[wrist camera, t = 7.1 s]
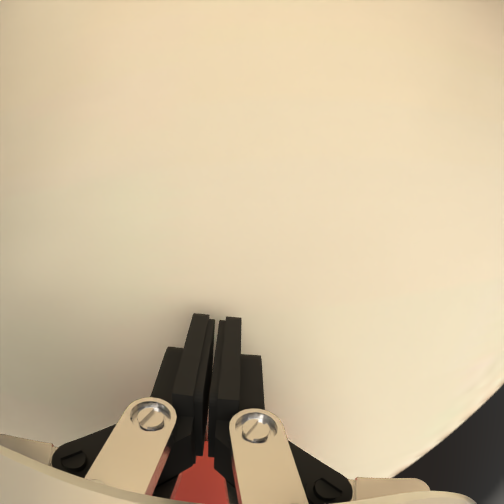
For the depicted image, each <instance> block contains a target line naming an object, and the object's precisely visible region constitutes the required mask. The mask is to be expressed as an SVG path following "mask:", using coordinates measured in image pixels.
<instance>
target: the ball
mask: <svg viewBox="0 0 504 504" xmlns="http://www.w3.org/2000/svg"><path fill="white" fill-rule="evenodd" d="M174 500H178V501H185V502H193V503H201V504H227V497H226V491H225V484H224V477H223V476H222V475H221V474H220V473H218V472H217V471H216V470H215V469H214V458H213V457H208V441H205V442H204V451H203V456H196V464H193V466H192V467H190V468H188V469H187V470H185V471H183V474H182V479H181V481H180V484H179V487H178V490H177V492H176V495H175V498H174Z"/></svg>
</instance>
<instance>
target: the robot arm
mask: <svg viewBox="0 0 504 504" xmlns="http://www.w3.org/2000/svg"><path fill="white" fill-rule="evenodd" d="M214 328H215V320H214V319H209V315H205V314H196V313H194V314H193V317H192V321H191V324H190V328H189V331H188V335H187V338H186V342H185V345H184V348H176V347H168V348H167V350H166V352H165V355H164V358H163V361H162V364H161V367H160V370H159V373H158V376H157V379H156V382H155V385H154V388H153V391H152V394H151V397H148V398H141V399H138V400H136V401H134V402H132V403H131V404H130V405H129V406H128V407H127V408H126V410H125V411H124V413H123V415H122V416H121V418H120V420H119V421H118V423H117V424H115V425H113V426H111V427H108V428H106V429H103V430H101V431H98V432H95V433H93V434H90V435H88V436H85V437H82V438H80V439H77V440H74V441H71V442H69V443H66V444H64V445H62V446H60V447H54V446H53V444H52V443H46V442H40V441H34V440H29V439H24V438H19V437H14V436H9V435H5V434H0V504H201V503H193V502H185V501H178V500H174V498H175V495H176V492H177V490H178V487H179V484H180V481H181V479H182V474H183V471H185V470H187V469H188V468H190V467H192V466H193V464H196V456H203V451H204V442H205V433H206V425H207V417H208V408H209V425H208V457H213V458H214V469H215V470H216V471H217V472H218V473H220V474H221V475H222V476H223V477H224V484H225V491H226V497H227V504H476V503H475V501H473V500H472V499H471V498H469V497H467V496H465V495H462V494H458V493H452V492H443V491H430V489H429V487H428V486H427V485H426V483H425V482H423V481H421V480H419V479H414V478H397V479H396V478H364V477H357V478H356V479H355V480H350V479H347V478H346V477H344V476H343V475H342V474H340V473H338V472H337V471H335V470H333V469H332V468H330V467H329V466H327V465H325V464H324V463H322V462H320V461H319V460H317V459H316V458H314V457H313V456H311V455H309V454H308V453H306V452H305V451H303V450H302V449H300V448H299V447H297V446H296V445H294V444H293V443H291V442H290V441H288V440H287V437H286V434H285V431H284V427H283V425H282V423H281V421H280V419H279V418H278V417H277V416H275V415H274V414H272V413H271V412H269V411H266V410H265V407H264V392H263V376H262V361H261V356H259V355H244V354H241V318H237V317H226V321H225V320H220V321H219V328H218V335H217V342H216V350H215V357H214V365H213V347H214ZM212 369H213V372H212Z"/></svg>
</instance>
